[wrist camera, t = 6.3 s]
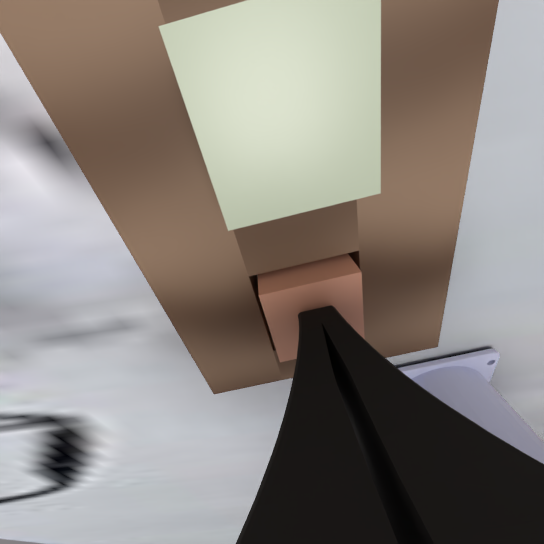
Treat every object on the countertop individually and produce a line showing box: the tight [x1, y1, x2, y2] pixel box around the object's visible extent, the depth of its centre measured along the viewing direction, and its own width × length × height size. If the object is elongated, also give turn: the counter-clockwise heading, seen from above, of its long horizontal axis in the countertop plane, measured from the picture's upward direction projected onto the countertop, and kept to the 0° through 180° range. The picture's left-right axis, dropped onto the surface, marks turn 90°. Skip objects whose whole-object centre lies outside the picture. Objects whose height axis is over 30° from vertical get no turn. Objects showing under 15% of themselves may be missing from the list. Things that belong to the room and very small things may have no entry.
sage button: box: [159, 0, 381, 231], centre depth 6 cm, size 4×4×3 cm
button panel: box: [0, 0, 499, 394], centre depth 8 cm, size 23×12×2 cm, turn 13°
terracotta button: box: [258, 253, 365, 362], centre depth 11 cm, size 4×4×3 cm
